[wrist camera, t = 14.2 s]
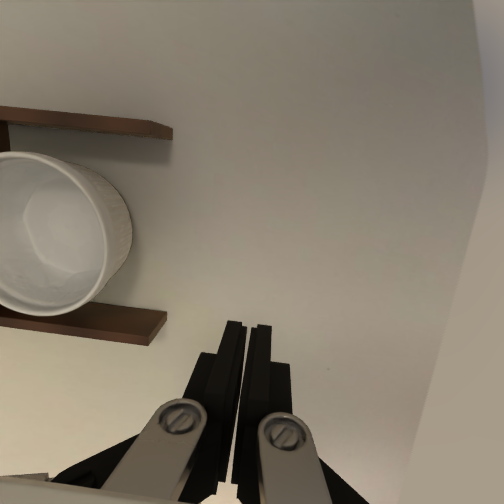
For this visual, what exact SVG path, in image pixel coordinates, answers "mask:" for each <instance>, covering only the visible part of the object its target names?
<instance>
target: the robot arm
mask: <svg viewBox="0 0 504 504" xmlns="http://www.w3.org/2000/svg"><path fill="white" fill-rule="evenodd" d="M246 334H247V327H246V326H242V322H237V321H229V320H228V321H227V324H226V327H225V331H224V334H223V337H222V340H221V343H220V346H219V349H218V352H217V354H212V353H205V352H201V354H200V356H199V358H198V361H197V363H196V365H195V368H194V370H193V373H192V375H191V378H190V380H189V382H188V385H187V387H186V390H185V392H184V395H183V397H182V398H181V399H174V400H171V401H168V402H166V403H165V404H163V405H161V406H160V407H159V408H158V409H157V410H156V412H155V413H154V415H153V416H152V417H151V419H150V420H149V422H148V423H147V424H146V426H145V427H144V429H143V430H142V431H141V433H140V434H137V435H135V436H133V437H131V438H129V439H127V440H125V441H123V442H121V443H119V444H117V445H115V446H112V447H110V448H108V449H106V450H104V451H102V452H100V453H98V454H96V455H94V456H92V457H90V458H87V459H85V460H83V461H81V462H79V463H77V464H75V465H73V466H71V467H69V468H67V469H66V470H64V471H62V472H61V473H59V474H58V475H57V476H56V477H55V478H49V476H48V473H38V474H24V475H10V476H0V504H201V502H202V501H203V500H205V499H206V498H207V497H209V496H210V495H212V494H213V495H216V492H217V486H218V481H219V482H225V481H226V475H227V469H228V463H229V457H230V451H231V445H232V439H233V433H234V427H235V421H236V415H237V409H238V403H239V397H240V403H239V412H238V422H237V431H236V441H235V450H234V459H233V469H232V478H231V483H232V484H238V489H237V498H238V499H239V500H240V502H241V503H242V504H369V503H368V502H367V501H366V500H365V499H364V498H363V497H362V496H360V495H359V494H358V493H357V492H356V491H355V490H354V489H353V488H352V487H351V486H350V485H348V484H347V483H346V482H345V481H344V480H343V479H342V478H341V477H340V476H339V475H338V474H337V473H335V472H334V471H333V470H332V469H331V468H330V467H329V466H328V465H327V464H326V463H325V462H323V461H322V460H321V459H320V458H319V457H318V454H317V451H316V448H315V444H314V441H313V438H312V434H311V432H310V430H309V428H308V426H307V425H306V424H305V423H304V422H303V421H302V420H301V419H299V418H298V417H297V416H294V415H293V413H292V396H291V379H290V365H289V364H287V363H279V362H272V361H270V360H271V334H272V326H268V325H260V324H258V326H257V328H254V327H252V328H251V334H250V340H249V346H248V352H247V358H246V365H245V371H244V377H243V383H242V389H241V381H242V371H243V362H244V352H245V343H246ZM240 390H241V396H240Z"/></svg>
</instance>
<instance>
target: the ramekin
mask: <svg viewBox="0 0 504 504" xmlns="http://www.w3.org/2000/svg"><path fill="white" fill-rule="evenodd" d="M131 244H132V226H131V219H130V215H129V212H128V210H127V206H126V204H125V203H124V201H123V199H122V197H121V196H120V195H119V193H118V191H117V190H115V189H114V187H113V186H112V185H111V184H110V183H108V182H107V181H106V179H105V178H103V177H101V176H99V175H98V173H96V172H93V171H91V170H90V169H88V168H85V167H82V166H80V165H78V164H74V163H70V162H65V161H60V160H58V159H56V158H53V157H50V156H48V155H44V154H39V153H34V152H1V153H0V304H1V305H3V306H5V307H7V308H9V309H12V310H14V311H17V312H20V313H24V314H28V315H35V316H54V315H60V314H64V313H67V312H70V311H73V310H75V309H77V308H79V307H80V306H82V305H84V304H86V303H87V302H89V301H90V300H91V299H93V298H94V297H95V296H96V295H97V294H98V293H99V292H100V291H101V290H102V289H103V287H104V286H105V284H106V283H107V281H108V280H109V279H110V278H111V277H112V276H113V275H114V274H115V273H116V272H117V271H118V270H119V268H120V267H121V266H122V265H123V263H124V261H125V260H126V258H127V256H128V253H129V251H130V247H131Z"/></svg>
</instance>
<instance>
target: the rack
mask: <svg viewBox="0 0 504 504" xmlns="http://www.w3.org/2000/svg"><path fill="white" fill-rule="evenodd" d="M7 123H9V124H19V125H28V126H38V127H48V128H58V129H68V130H78V131H88V132H98V133H107V134H117V135H127V136H137V137H147V138H157V139H167V140H172V131H173V129H172V128H170V127H167V126H164V125H162V124H159V123H156V122H153V121H149V120H139V119H129V118H119V117H108V116H98V115H88V114H78V113H68V112H58V111H48V110H37V109H27V108H17V107H7V106H0V153H1V152H10V143H9V134H8V124H7ZM166 321H167V312H163V311H155V310H147V309H139V308H132V307H124V306H116V305H108V304H100V303H93V302H87V303H86V304H84V305H82V306H80V307H79V308H77V309H75V310H73V311H70V312H67V313H64V314H60V315H54V316H35V315H28V314H24V313H20V312H17V311H14V310H12V309H9V308H7V307H5V306H3V305H1V304H0V326H3V327H10V328H17V329H25V330H32V331H40V332H47V333H55V334H62V335H69V336H77V337H84V338H92V339H99V340H106V341H114V342H121V343H129V344H136V345H144V346H149V344H150V343H151V342H152V340H153V339H154V337H155V336H156V335H157V333H158V332H159V330H160V329H161V328H162V326H163V325H164V323H165V322H166Z"/></svg>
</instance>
